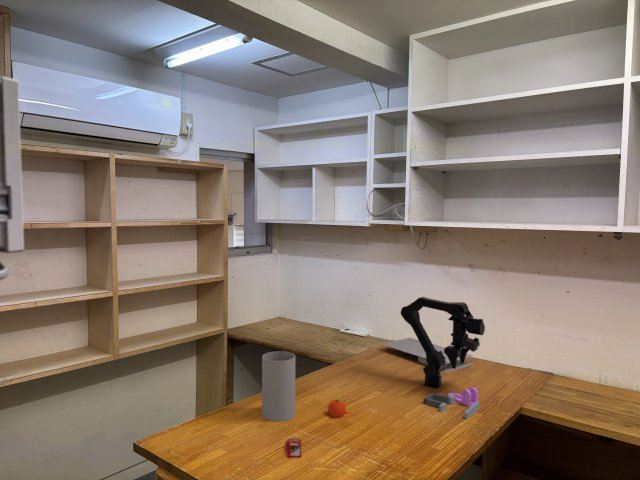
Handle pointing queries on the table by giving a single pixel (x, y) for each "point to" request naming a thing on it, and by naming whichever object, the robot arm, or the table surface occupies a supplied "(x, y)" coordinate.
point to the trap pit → (433, 397)
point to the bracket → (466, 396)
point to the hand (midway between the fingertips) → (458, 366)
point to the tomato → (337, 408)
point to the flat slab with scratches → (416, 349)
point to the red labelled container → (293, 448)
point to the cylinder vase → (278, 386)
